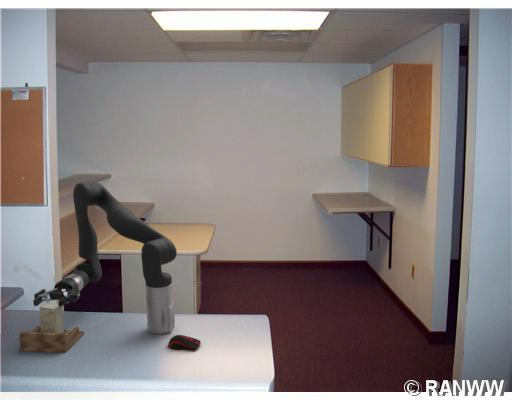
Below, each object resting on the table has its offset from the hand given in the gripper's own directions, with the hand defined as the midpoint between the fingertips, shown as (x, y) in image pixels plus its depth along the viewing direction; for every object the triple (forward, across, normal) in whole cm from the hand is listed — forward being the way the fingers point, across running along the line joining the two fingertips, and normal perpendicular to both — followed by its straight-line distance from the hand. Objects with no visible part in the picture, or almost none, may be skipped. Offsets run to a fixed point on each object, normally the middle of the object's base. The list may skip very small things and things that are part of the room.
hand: (47, 303), depth 166 cm
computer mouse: (-3, +45, +16) cm, 48 cm away
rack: (-2, 0, +15) cm, 15 cm away
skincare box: (-2, 0, +14) cm, 14 cm away
